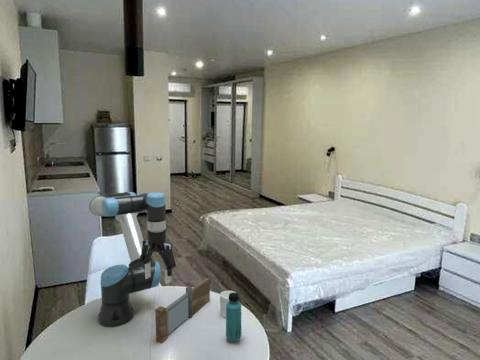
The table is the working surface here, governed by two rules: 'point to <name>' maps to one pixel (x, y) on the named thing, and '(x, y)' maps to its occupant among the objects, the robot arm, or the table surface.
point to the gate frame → (195, 303)
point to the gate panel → (176, 313)
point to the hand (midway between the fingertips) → (157, 280)
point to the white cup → (224, 301)
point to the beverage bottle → (233, 318)
